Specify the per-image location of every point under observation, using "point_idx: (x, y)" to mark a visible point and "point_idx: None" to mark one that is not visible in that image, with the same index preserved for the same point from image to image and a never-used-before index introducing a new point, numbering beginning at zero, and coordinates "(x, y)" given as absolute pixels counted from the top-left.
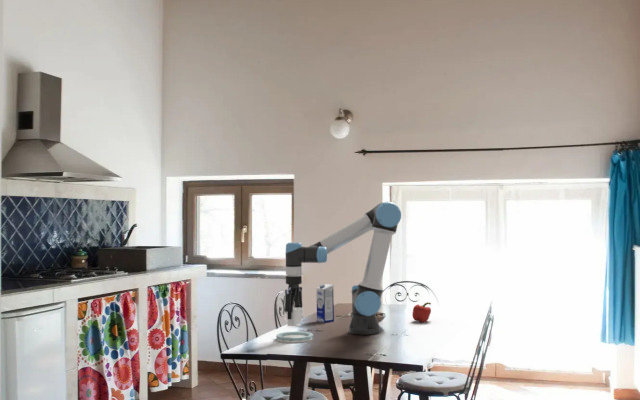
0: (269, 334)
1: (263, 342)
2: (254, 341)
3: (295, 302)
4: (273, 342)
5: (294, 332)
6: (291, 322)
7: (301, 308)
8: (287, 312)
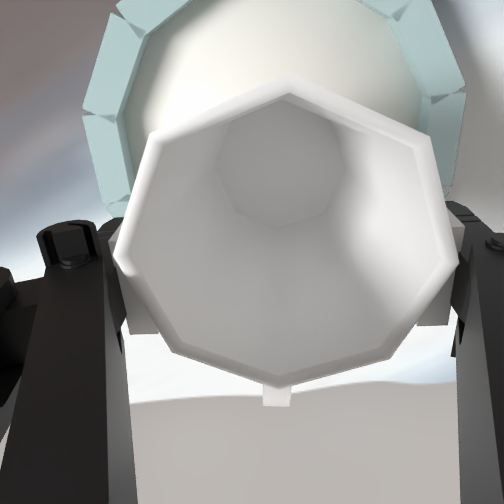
0: (179, 392)
1: None
2: (444, 366)
3: (123, 419)
4: None
5: None
6: None
7: (151, 192)
8: (441, 317)
